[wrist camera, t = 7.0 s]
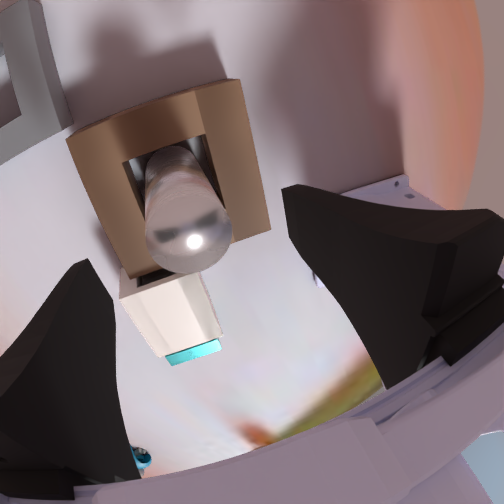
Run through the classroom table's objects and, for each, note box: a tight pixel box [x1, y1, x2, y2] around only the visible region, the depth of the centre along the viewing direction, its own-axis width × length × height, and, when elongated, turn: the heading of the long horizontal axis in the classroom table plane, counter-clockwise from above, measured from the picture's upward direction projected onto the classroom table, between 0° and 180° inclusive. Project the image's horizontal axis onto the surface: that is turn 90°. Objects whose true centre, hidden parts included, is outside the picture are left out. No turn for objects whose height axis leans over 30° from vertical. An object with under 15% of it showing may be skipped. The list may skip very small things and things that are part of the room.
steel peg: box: [145, 146, 232, 274], centre depth 14 cm, size 3×3×8 cm
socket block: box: [66, 79, 271, 280], centre depth 16 cm, size 9×9×2 cm
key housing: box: [119, 267, 223, 358], centre depth 20 cm, size 5×6×3 cm
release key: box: [142, 268, 222, 366], centre depth 21 cm, size 4×7×3 cm, turn 11°
